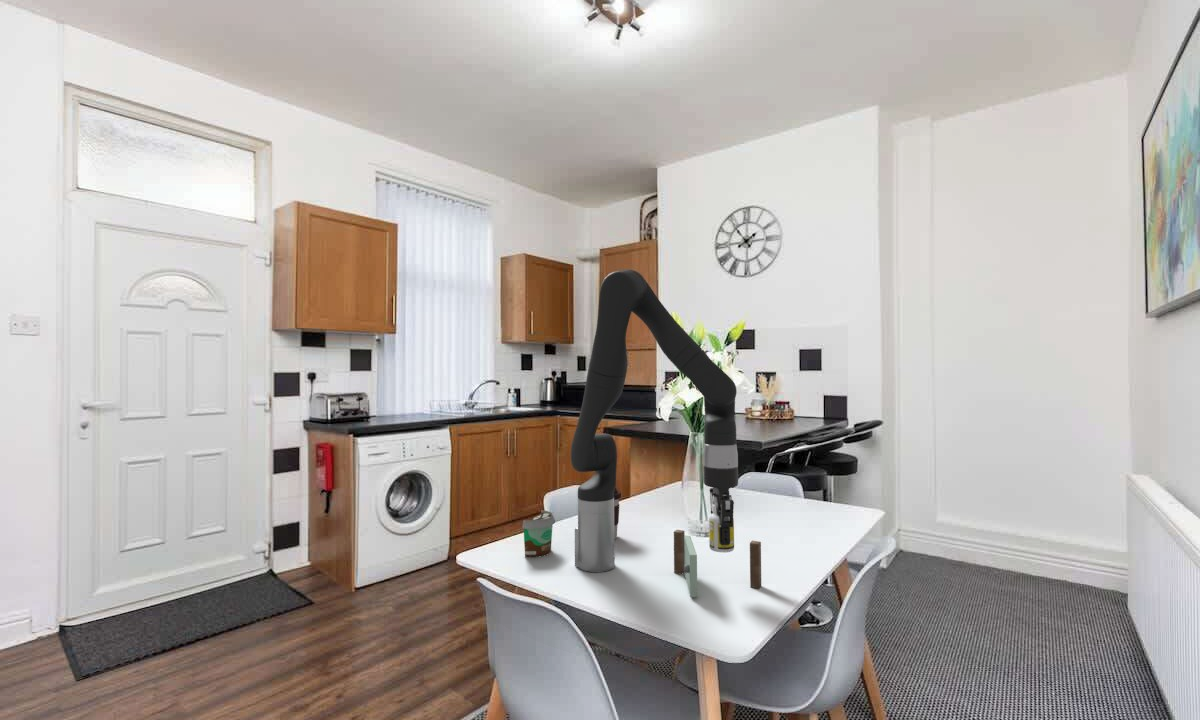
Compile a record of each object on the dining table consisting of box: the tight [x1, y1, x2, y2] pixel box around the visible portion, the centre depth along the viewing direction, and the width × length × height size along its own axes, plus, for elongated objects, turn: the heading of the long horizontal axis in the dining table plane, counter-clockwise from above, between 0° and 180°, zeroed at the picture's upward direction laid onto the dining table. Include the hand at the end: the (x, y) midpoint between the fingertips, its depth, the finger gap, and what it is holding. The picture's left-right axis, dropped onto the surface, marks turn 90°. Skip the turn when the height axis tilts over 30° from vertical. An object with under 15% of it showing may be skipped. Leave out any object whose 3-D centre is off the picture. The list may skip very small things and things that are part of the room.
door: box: [683, 535, 698, 598], centre depth 126 cm, size 14×3×9 cm, turn 176°
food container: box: [522, 509, 556, 558], centre depth 150 cm, size 12×6×10 cm, turn 161°
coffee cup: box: [614, 487, 622, 540], centre depth 164 cm, size 10×10×15 cm
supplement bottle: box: [708, 504, 735, 553], centre depth 123 cm, size 5×5×10 cm
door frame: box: [673, 529, 762, 590], centre depth 130 cm, size 20×2×10 cm, turn 60°
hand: (721, 540), depth 123 cm, fingers closed on supplement bottle, 5 cm apart
